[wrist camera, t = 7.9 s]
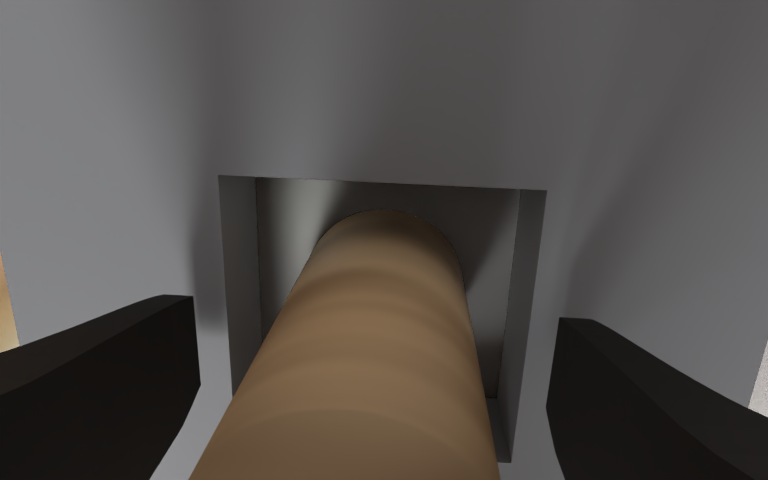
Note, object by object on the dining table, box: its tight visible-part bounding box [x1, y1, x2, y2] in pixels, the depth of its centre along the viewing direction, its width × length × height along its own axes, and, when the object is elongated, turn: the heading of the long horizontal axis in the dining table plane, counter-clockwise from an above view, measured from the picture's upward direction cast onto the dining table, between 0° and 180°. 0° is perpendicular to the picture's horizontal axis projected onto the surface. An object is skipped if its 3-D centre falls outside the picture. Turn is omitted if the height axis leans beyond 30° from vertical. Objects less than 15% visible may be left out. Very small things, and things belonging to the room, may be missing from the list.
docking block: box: [0, 0, 768, 480], centre depth 13 cm, size 16×16×2 cm
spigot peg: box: [188, 209, 501, 480], centre depth 10 cm, size 4×4×8 cm
